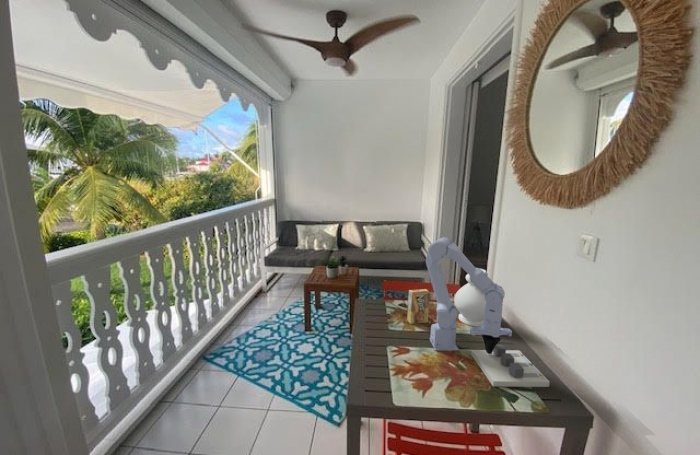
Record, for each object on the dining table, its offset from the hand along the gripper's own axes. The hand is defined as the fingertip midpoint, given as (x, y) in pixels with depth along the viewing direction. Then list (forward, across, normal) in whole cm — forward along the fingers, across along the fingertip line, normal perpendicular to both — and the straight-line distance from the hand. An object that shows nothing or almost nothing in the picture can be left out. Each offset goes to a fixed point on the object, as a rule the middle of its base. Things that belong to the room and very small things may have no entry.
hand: (488, 352), depth 107 cm
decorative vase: (+3, +7, +30) cm, 31 cm away
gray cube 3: (+1, +4, -11) cm, 12 cm away
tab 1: (+1, +4, 0) cm, 4 cm away
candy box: (+3, -20, +28) cm, 35 cm away
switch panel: (+3, +4, -6) cm, 8 cm away
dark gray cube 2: (+1, +4, -6) cm, 7 cm away
